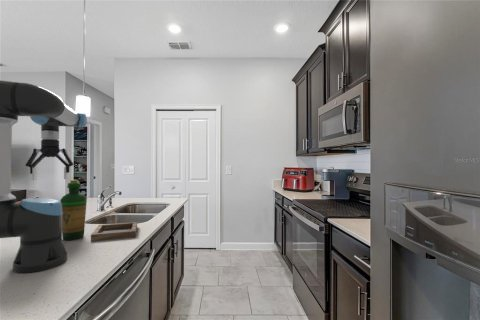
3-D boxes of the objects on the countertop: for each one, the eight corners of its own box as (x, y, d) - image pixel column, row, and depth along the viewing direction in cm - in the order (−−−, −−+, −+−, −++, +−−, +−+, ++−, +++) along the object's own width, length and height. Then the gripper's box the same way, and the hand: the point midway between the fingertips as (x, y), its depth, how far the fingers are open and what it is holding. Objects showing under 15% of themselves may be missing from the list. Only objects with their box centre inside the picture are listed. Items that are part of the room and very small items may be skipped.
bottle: (60, 243, 109) (61, 181, 110) (59, 237, 118) (59, 179, 118) (87, 238, 116) (88, 180, 116) (84, 233, 124) (85, 179, 125)
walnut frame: (135, 237, 119) (135, 231, 119) (90, 241, 112) (90, 234, 112) (137, 227, 137) (137, 221, 137) (98, 230, 130) (98, 224, 130)
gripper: (79, 140, 137) (79, 178, 136) (24, 140, 128) (24, 180, 127) (75, 139, 130) (76, 178, 129) (17, 138, 121) (17, 180, 120)
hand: (50, 179), depth 128 cm, fingers open, 13 cm apart
